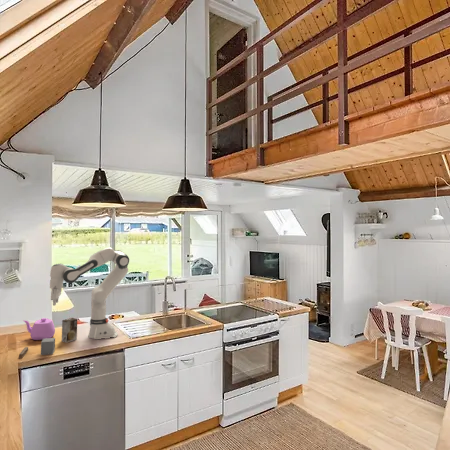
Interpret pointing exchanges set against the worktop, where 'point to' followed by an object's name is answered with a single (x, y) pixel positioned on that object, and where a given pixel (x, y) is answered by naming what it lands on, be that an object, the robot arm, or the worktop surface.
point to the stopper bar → (23, 352)
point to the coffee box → (69, 330)
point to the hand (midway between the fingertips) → (55, 303)
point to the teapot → (41, 329)
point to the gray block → (47, 346)
